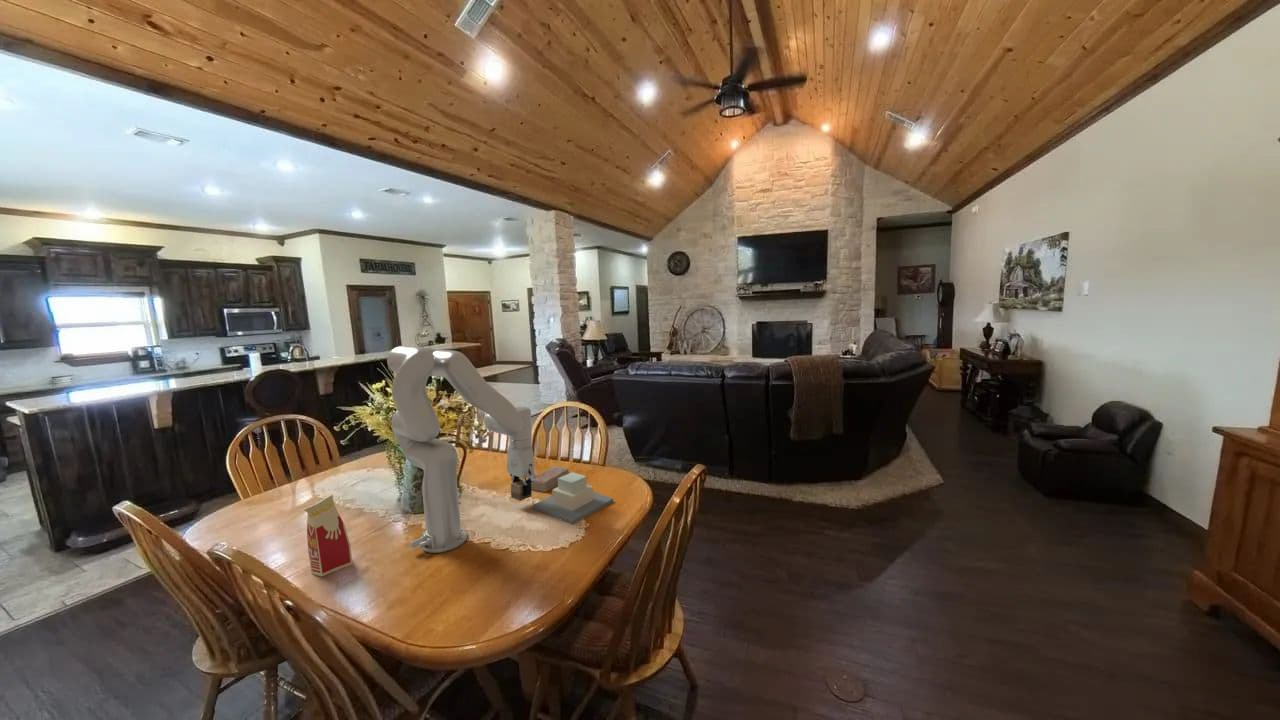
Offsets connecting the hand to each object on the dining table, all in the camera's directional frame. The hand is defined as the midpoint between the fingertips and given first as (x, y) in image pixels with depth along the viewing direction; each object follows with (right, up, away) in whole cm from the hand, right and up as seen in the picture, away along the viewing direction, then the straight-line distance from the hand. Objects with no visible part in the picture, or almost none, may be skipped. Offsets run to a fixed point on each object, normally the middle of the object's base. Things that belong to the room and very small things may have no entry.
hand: (522, 492), depth 158 cm
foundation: (+18, -5, +1) cm, 19 cm away
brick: (+6, -3, +21) cm, 21 cm away
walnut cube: (0, -1, 0) cm, 1 cm away
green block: (+18, +2, 0) cm, 18 cm away
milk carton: (-45, -11, -33) cm, 57 cm away
